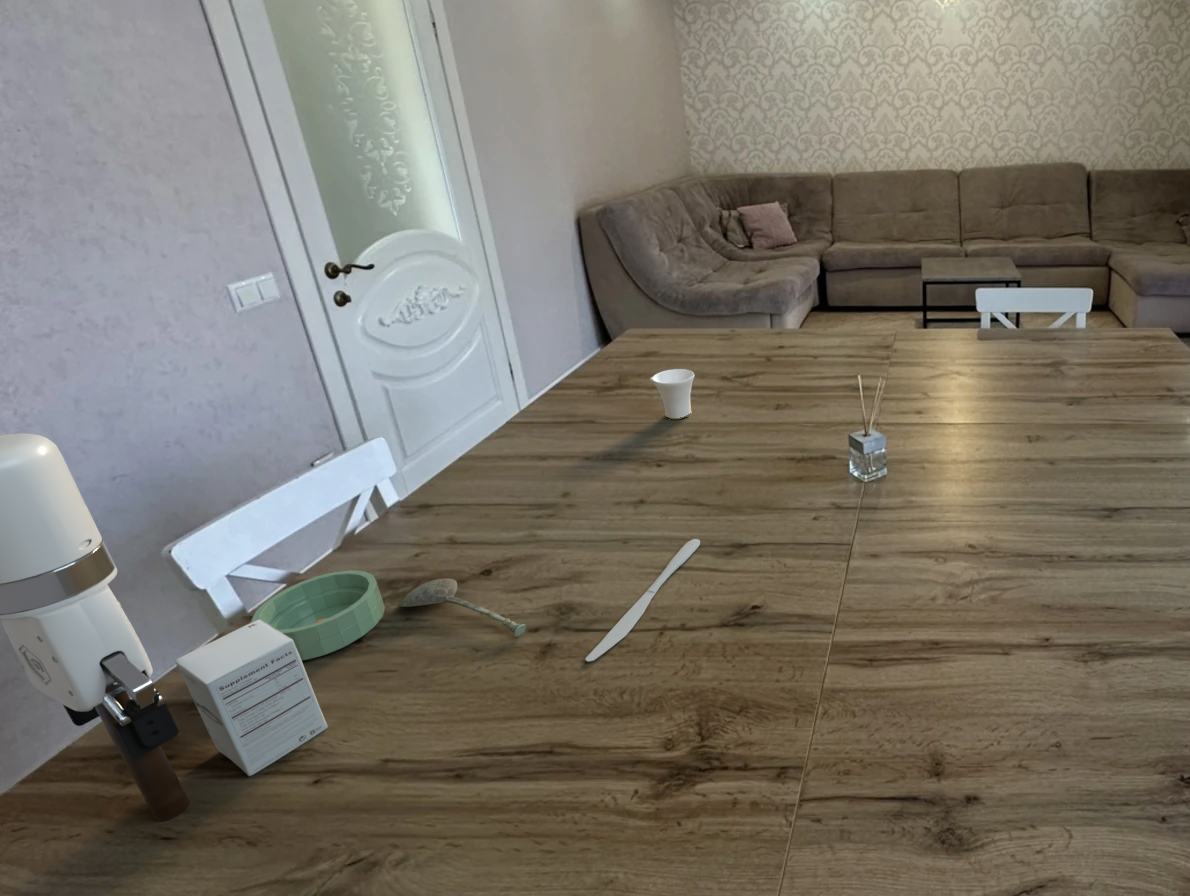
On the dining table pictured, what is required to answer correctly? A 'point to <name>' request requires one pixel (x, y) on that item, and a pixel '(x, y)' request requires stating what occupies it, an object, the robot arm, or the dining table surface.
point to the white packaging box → (253, 695)
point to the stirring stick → (149, 771)
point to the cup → (675, 391)
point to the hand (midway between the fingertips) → (127, 729)
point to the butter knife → (642, 603)
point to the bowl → (325, 611)
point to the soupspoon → (452, 601)
